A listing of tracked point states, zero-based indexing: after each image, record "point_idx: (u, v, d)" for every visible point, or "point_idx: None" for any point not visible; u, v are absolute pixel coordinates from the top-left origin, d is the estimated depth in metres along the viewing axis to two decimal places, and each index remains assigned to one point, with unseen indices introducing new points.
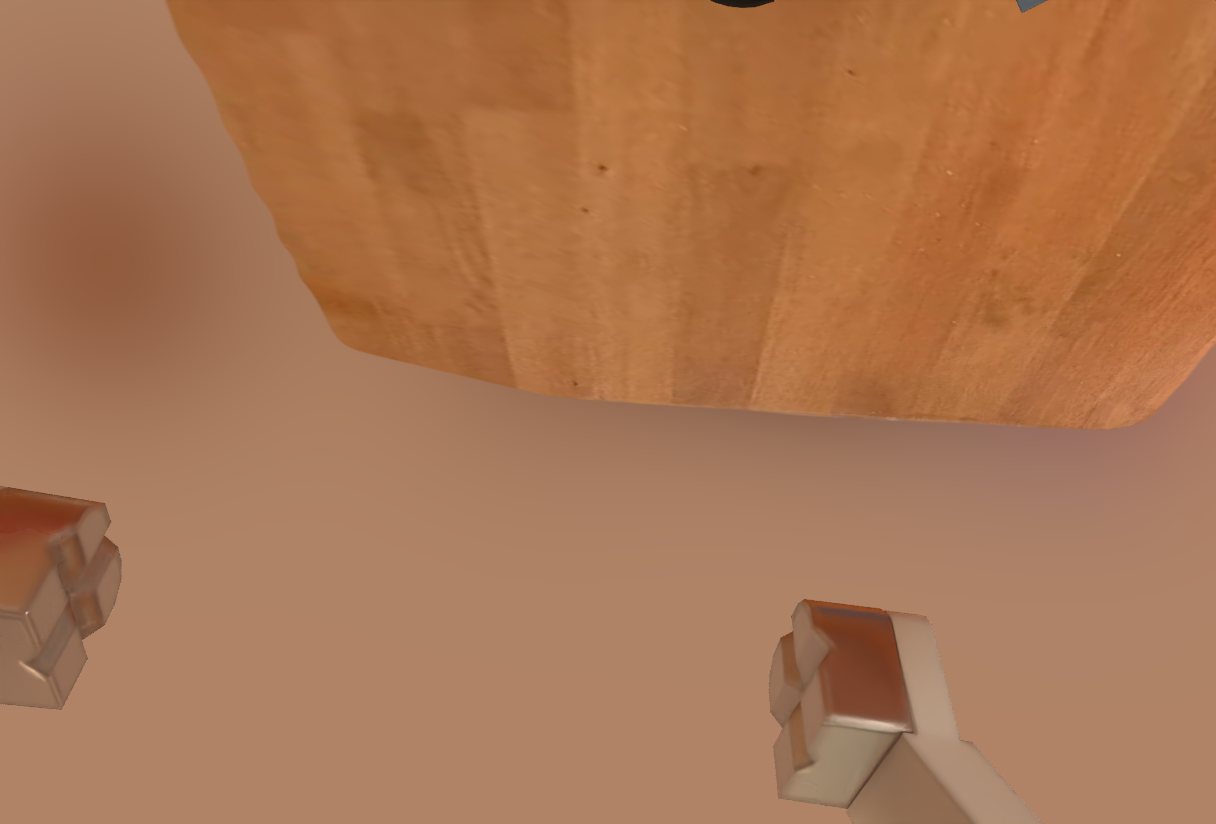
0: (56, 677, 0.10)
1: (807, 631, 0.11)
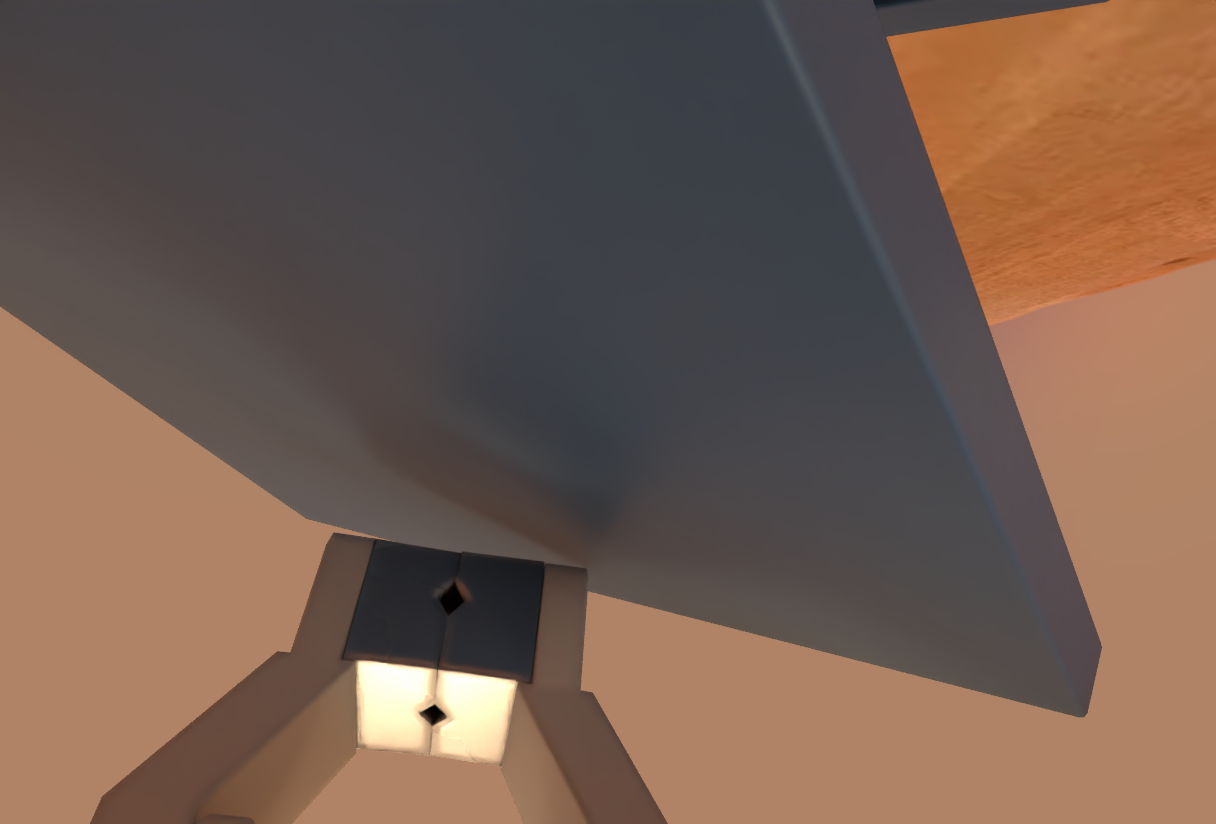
0: None
1: (455, 583, 0.11)
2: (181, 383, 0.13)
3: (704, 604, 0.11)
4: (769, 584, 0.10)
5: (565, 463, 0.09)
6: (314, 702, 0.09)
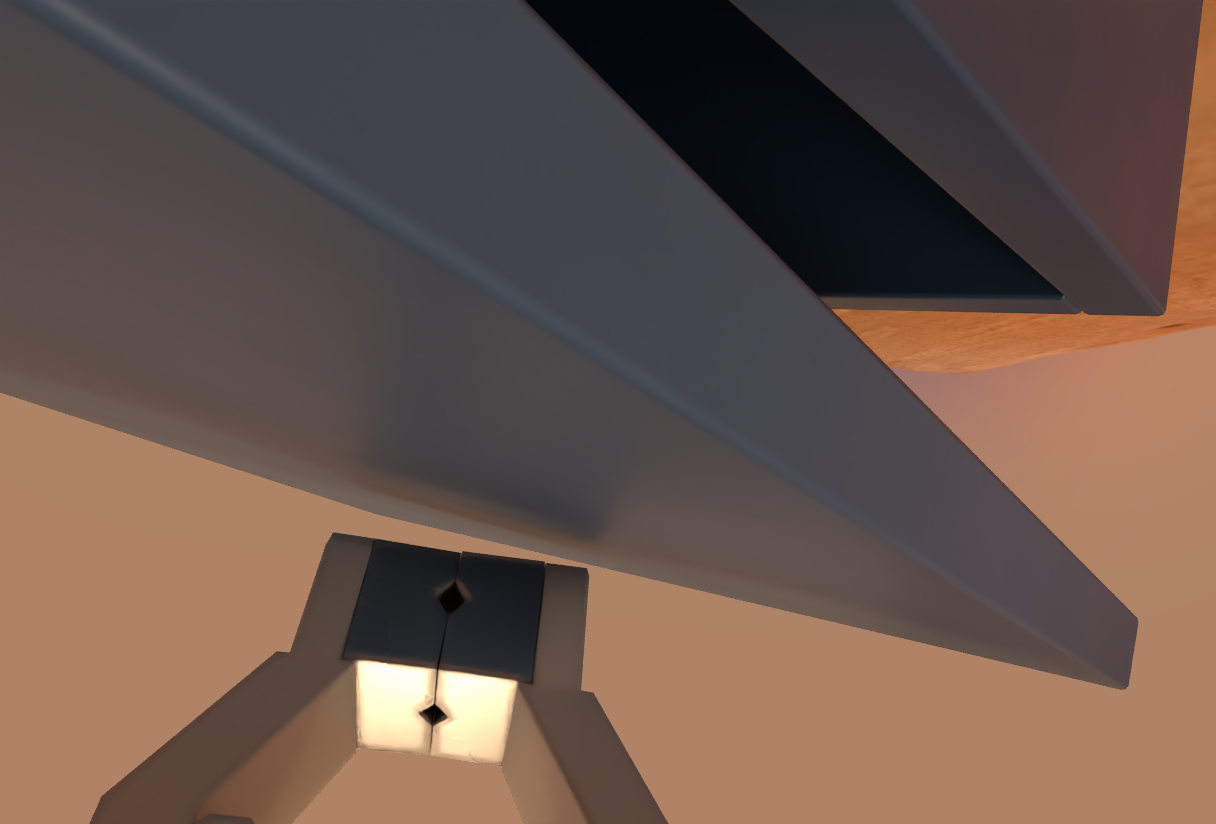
0: None
1: (456, 583, 0.11)
2: (246, 462, 0.13)
3: (767, 602, 0.12)
4: (828, 609, 0.11)
5: (628, 548, 0.10)
6: (313, 702, 0.09)
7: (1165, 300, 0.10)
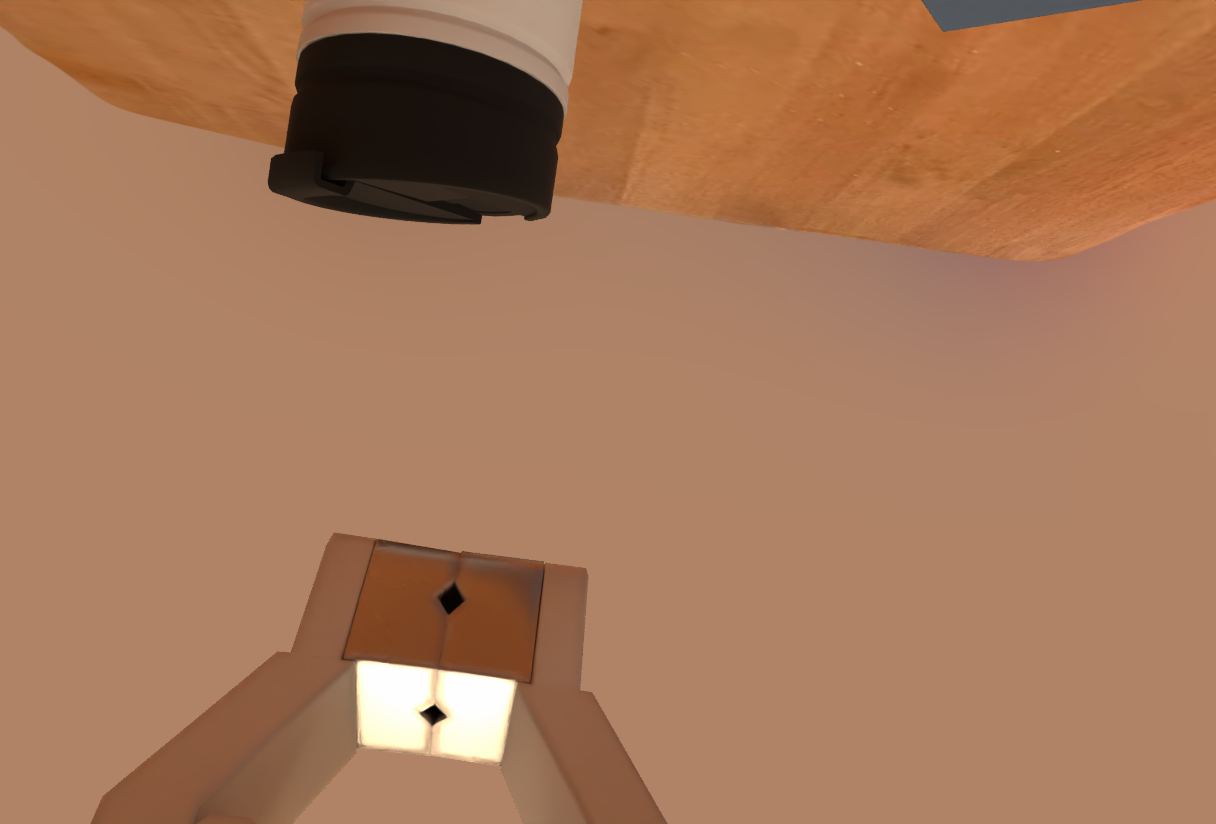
0: None
1: (454, 583, 0.11)
2: None
3: None
4: None
5: None
6: (314, 703, 0.09)
7: None
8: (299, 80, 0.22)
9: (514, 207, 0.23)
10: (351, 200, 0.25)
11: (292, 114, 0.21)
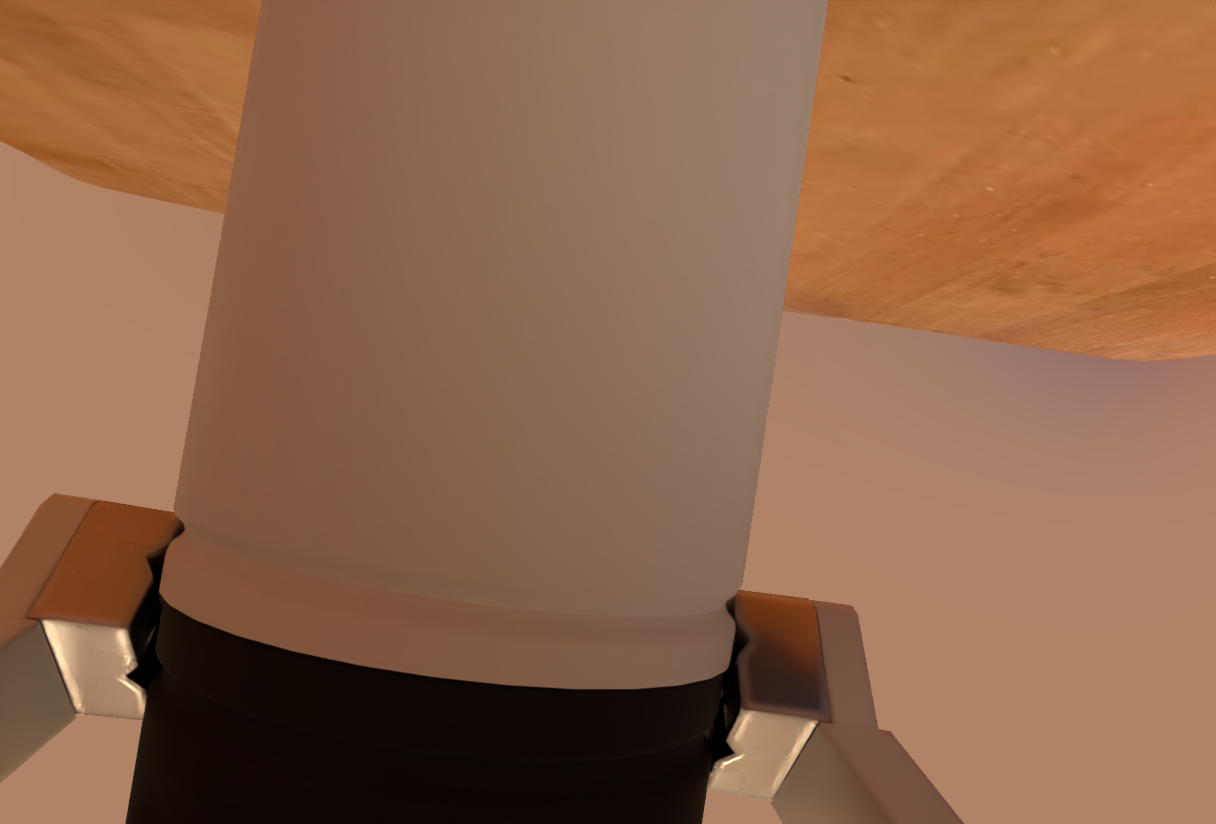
0: None
1: None
2: None
3: None
4: None
5: None
6: None
7: None
8: None
9: None
10: None
11: (140, 744, 0.10)
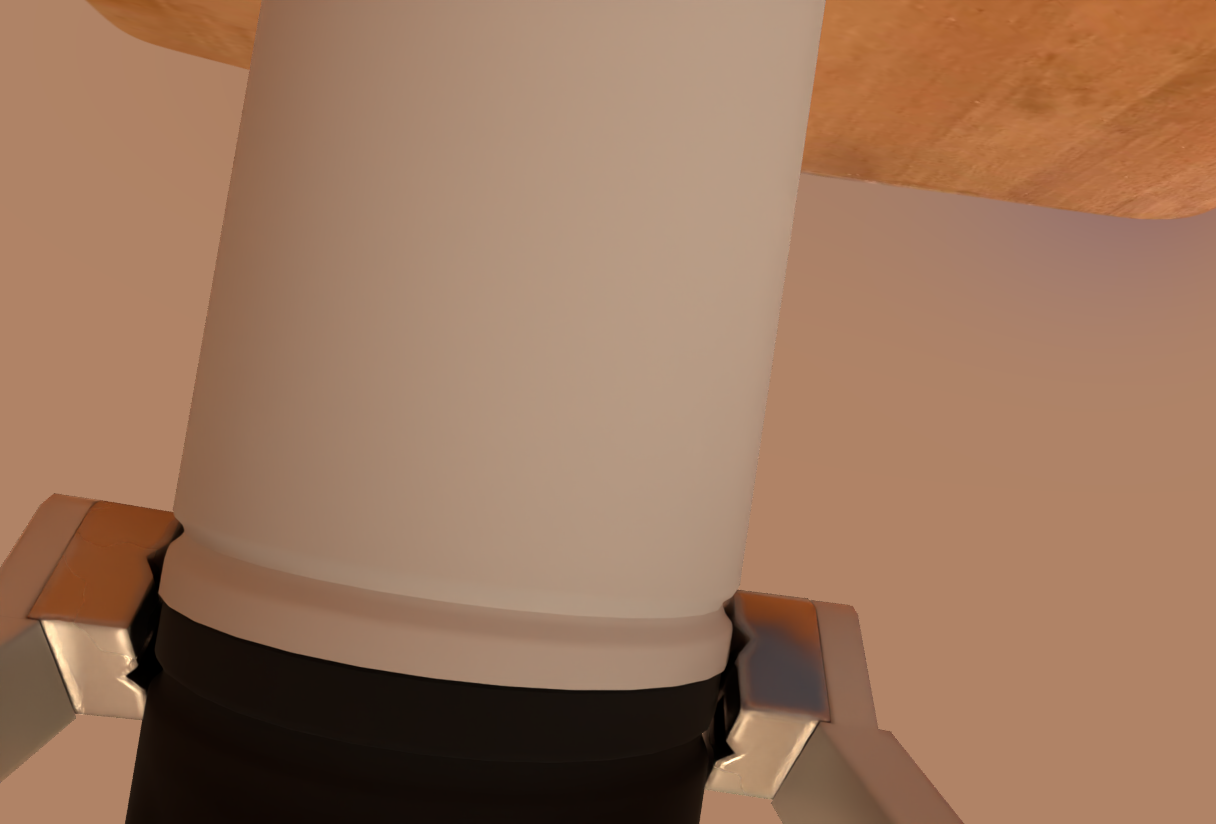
0: None
1: None
2: None
3: None
4: None
5: None
6: None
7: None
8: None
9: None
10: None
11: (140, 745, 0.10)
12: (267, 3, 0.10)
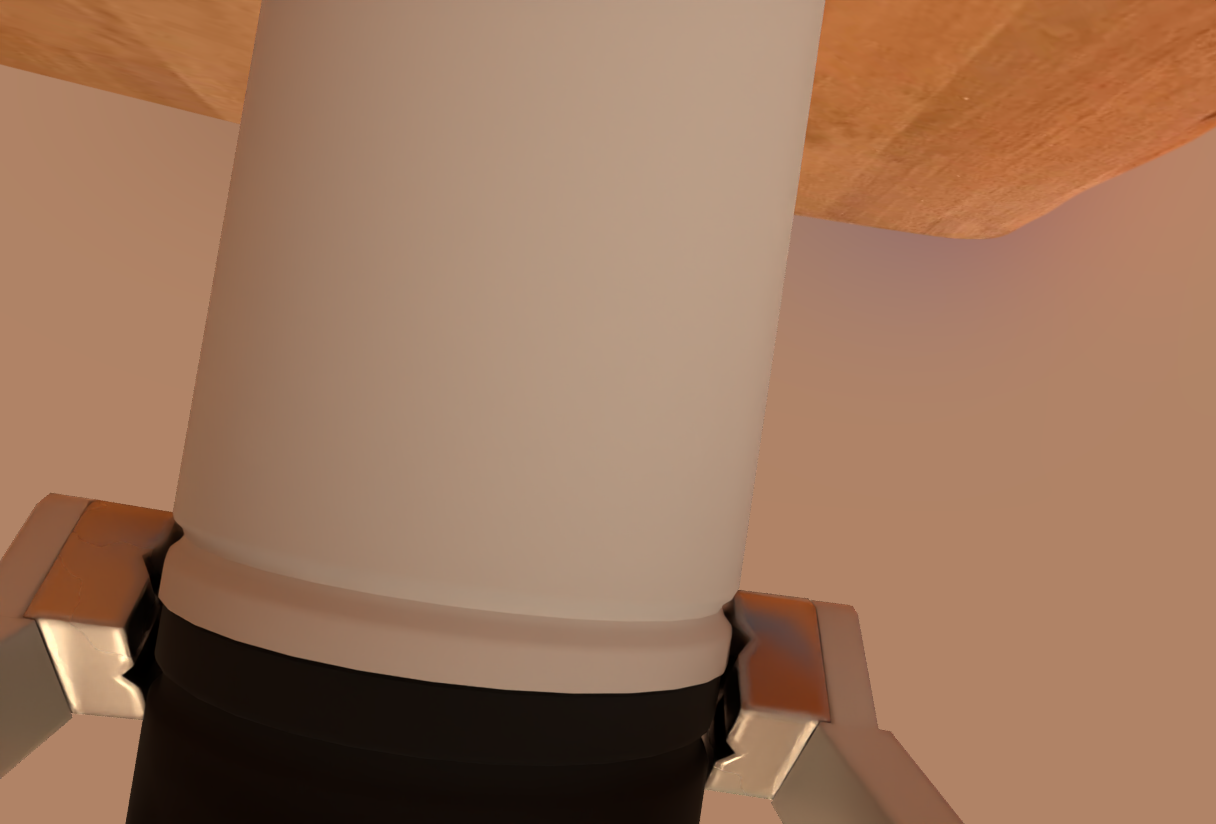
0: (146, 689, 0.11)
1: (731, 621, 0.11)
2: None
3: None
4: None
5: None
6: None
7: None
8: None
9: None
10: None
11: (139, 748, 0.10)
12: (267, 7, 0.10)
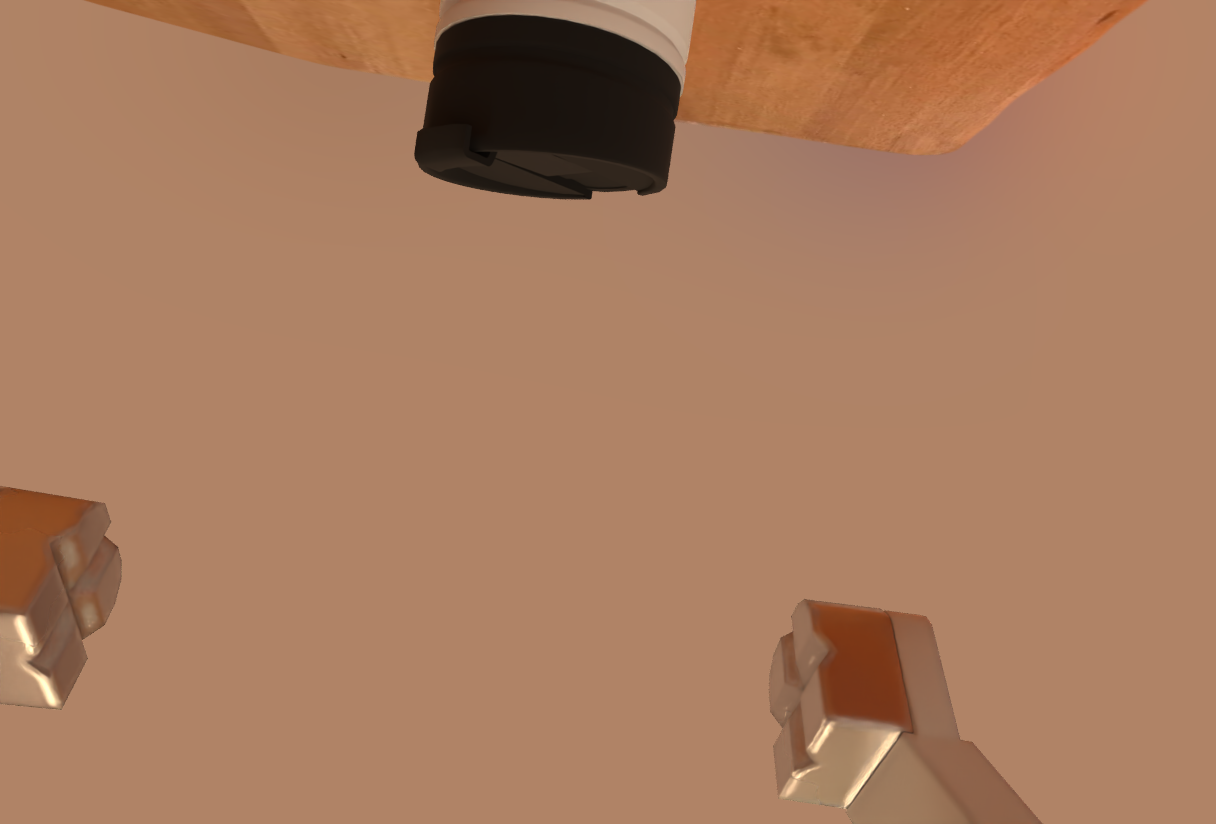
0: (56, 677, 0.10)
1: (807, 632, 0.11)
2: None
3: None
4: None
5: None
6: None
7: None
8: (440, 59, 0.23)
9: (631, 181, 0.25)
10: (473, 174, 0.26)
11: (434, 91, 0.23)
12: None
